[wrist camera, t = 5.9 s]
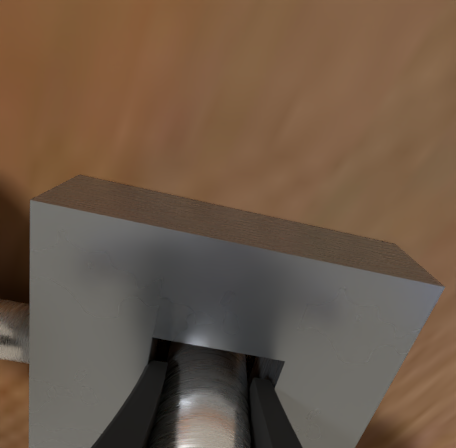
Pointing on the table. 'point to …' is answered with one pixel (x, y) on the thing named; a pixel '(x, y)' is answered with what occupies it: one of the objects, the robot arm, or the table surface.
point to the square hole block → (205, 308)
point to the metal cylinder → (203, 400)
